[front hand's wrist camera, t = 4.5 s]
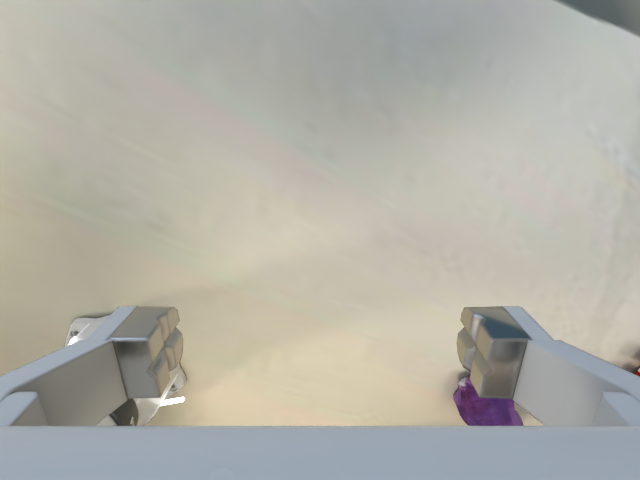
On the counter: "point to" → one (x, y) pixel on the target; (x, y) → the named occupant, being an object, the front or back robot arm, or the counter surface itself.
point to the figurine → (484, 408)
